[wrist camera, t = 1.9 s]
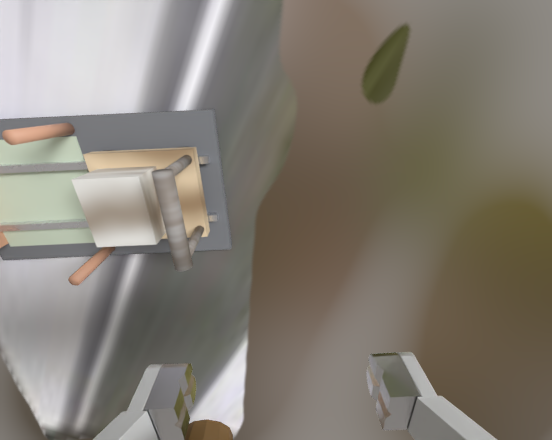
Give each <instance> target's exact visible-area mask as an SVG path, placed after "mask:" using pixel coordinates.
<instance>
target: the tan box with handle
mask: <svg viewBox="0 0 552 440" xmlns="http://www.w3.org/2000/svg"><path fill="white" fill-rule="evenodd" d="M83 156H84V159H85V162H86V165H87V168H88V170H89V173H86V174H84V175H81V176H79V177H77V178H74V179H72V183H73V185H74V188H75V191H76V193H77V196H78V198H79V201H80V204H81V206H82V209H83V212H84V214H85V217H86V220H87V222H88V225H89V228H90V230H91V233H92V235H93V238H94V241H95V243H96V246H97V247H114V246H135V245H156V244H158V242H159V241H160V240H161V239H168V242H169V246H170V250H171V254H172V259H173V263H174V267H175V270H177V271H186V270H188V269H190V268H191V267H192V266H193V263H192V258H191V257H192V255H193V253H194V251H195V249H196V246H197V244H198V242H199V240H200V238H201V237H207V236H208V234H209V232H210V228H209V222H208V216H207V210H206V204H205V198H204V192H203V186H202V180H201V174H200V168H199V162H198V156H197V150H196V147H177V148H162V149H140V150H119V151H116V150H106V151H97V152H90V153H86V154H83ZM187 238H190V239H189V240H188V239H187Z"/></svg>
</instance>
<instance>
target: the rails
mask: <svg viewBox="0 0 552 440" xmlns="http://www.w3.org/2000/svg"><path fill="white" fill-rule="evenodd" d="M197 156H198V162H199V164H209V163H210V162H211V161H210V155H197ZM84 169H88V168H87V165H86V162H85V160H84V161H65V162H43V163H22V164H0V173H20V172H42V171H63V170H84ZM207 216H208V222H212V221H218V219H219V216H218V212H207ZM86 227H89V225H88V222H87V220H86V219H65V220H44V221H23V222H2V223H0V232H2V231H23V230H44V229H65V228H86Z"/></svg>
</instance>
